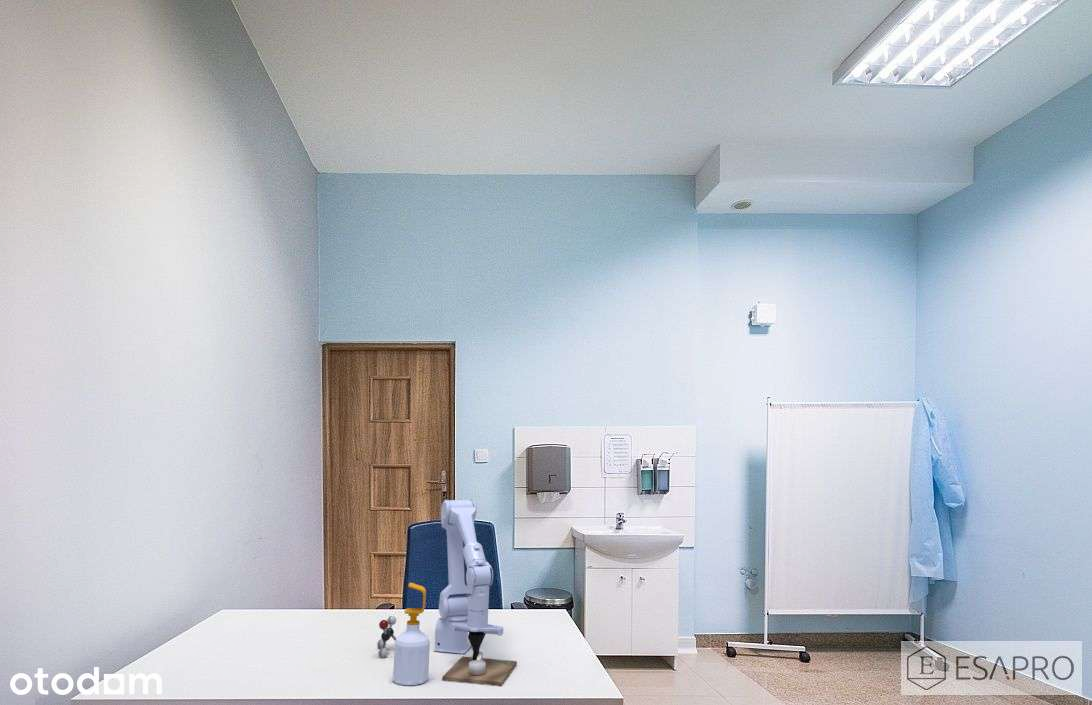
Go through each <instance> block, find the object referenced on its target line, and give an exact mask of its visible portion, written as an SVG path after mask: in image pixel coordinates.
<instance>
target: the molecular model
mask: <svg viewBox="0 0 1092 705" xmlns="http://www.w3.org/2000/svg"><path fill="white" fill-rule="evenodd" d="M395 624H397V618H396V616H394V615H390V616H388V618H387V619H382V620H380V621H379V624H378V627H379V628H380V629H381V630H382V631H383V632H382V633H381V636H380V639H379V640H378V641H377V642H376V645H377V646H376V647H378V648H379V650H378V653H377V654H378V656H379V657H380V658H381V659H384V658H386V657H387V656H388V654H389V652H388V649H387V648H386V646H387V641H389V640H390V639H391V638H392V639H393V640H394V641H395V640H396V638H397V637H396V636H395V634H394V633H395V632H394V631H395V630H394V629H393V628H392V627H393V626H394V625H395Z"/></svg>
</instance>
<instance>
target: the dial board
mask: <svg viewBox="0 0 1092 705" xmlns="http://www.w3.org/2000/svg"><path fill="white" fill-rule="evenodd" d="M470 661H473V656H463V655H462V656H461V657H460V658H459V659H458V660H457V661H456V662H455V663H454V664H453V665H452V666H451V667H450V668H449V669H448V670H447V671H446V672H445V673H444V674H443V675H442V679H441V681H442V680H448V681H447V682H453V681H457V682H456V683H463V682H468V683H467V684H473V683H479V684H478V685H484V684H491V685H490V686H494V685H499V686H498V687H502V686H503V685H502V684H504V683H505V682H506V680H507V679H508V678H509V676H510V675H511V674H510V673H512V672H513V671H514V669H515V668H516V667H517V665H518V661H517V660H508V659H507V660H506V659H496V658H485V657H483V660H482V661H485V662H486V666H485V674H482V675H472V674H469V662H470ZM516 664H517V665H516ZM515 666H516V667H515ZM514 667H515V668H514ZM512 670H513V671H512ZM511 671H512V672H511ZM509 674H510V675H509ZM507 677H508V678H507ZM504 681H505V682H504Z"/></svg>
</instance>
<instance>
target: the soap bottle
mask: <svg viewBox="0 0 1092 705" xmlns="http://www.w3.org/2000/svg"><path fill="white" fill-rule="evenodd" d="M407 586H408V588H410V589H413V590H417V591H420V592H421V593H422V595H423V596H422V597H423V598H422V607H421V608H418V607H417V608H414V607H413V608H408V607H407V608H405V609H404V614H408V615H407V616H409V620H407V621H406V630H405V631H403V632H401V633H400V634H399V635H398V636H397V637H396V640H394V651H393V653H394V654H393V668H392V669H393V671H392V672H393V673H392V674H393V675H392V679H393V682H394V683H395V684H396V685H400V686H406V685H412V686H417V685H418V684H419V685H421V684H423V683H426V682H427V681H428V679H429V672H430V671H429V669H430V668H429V667H430V666H429V665H430V648H431V647H430V645H431V643H430V642H431V641H430V638H429V636H428V635H427V634H426V633H424V632H423V631H421V630H420V620H418V617H419V615H420V614H423V612H424V611H425V608H426V602H427V590H426V588H425V587H424V586H423V585H420V584H417V583H414V582H409V583H408V585H407Z"/></svg>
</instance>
